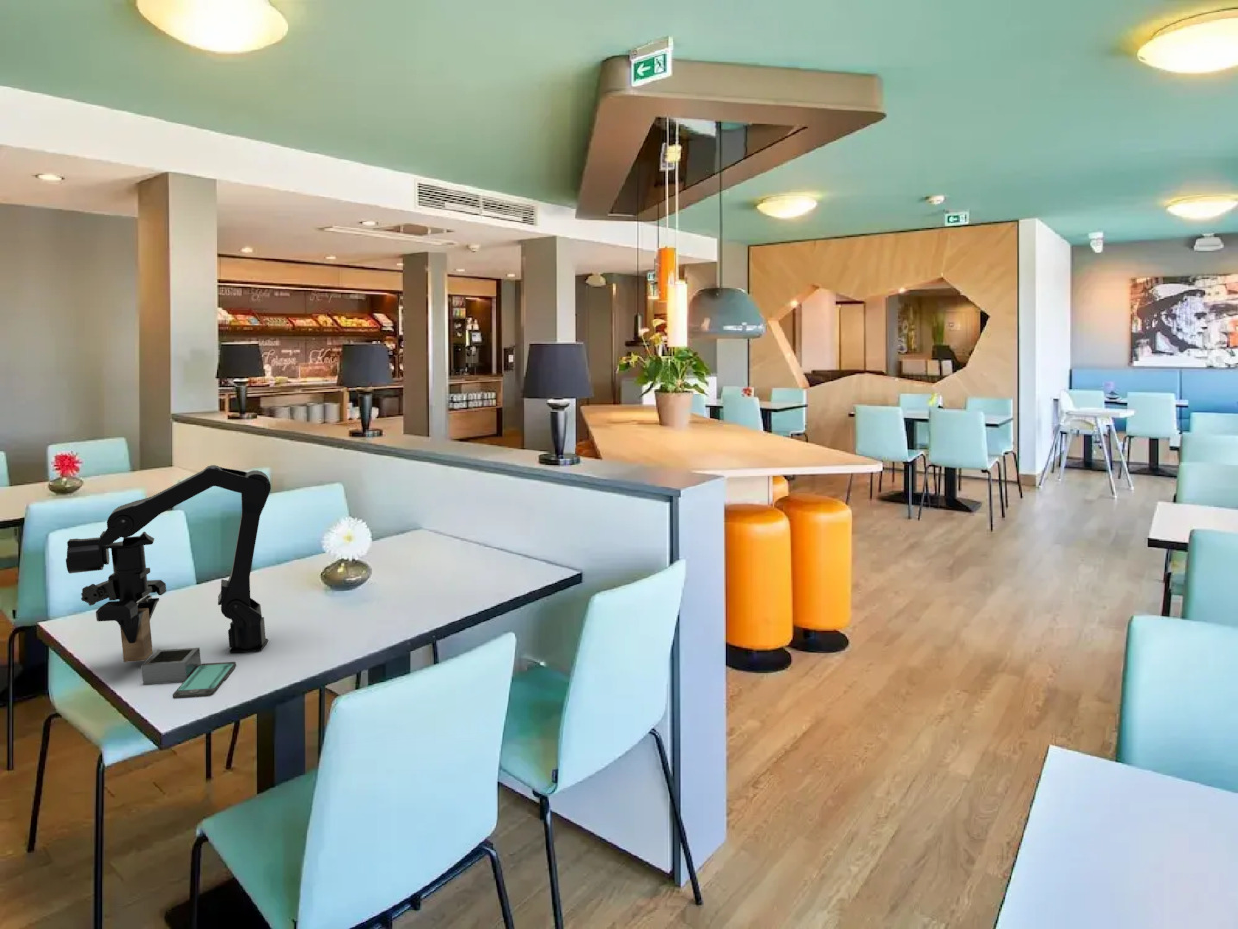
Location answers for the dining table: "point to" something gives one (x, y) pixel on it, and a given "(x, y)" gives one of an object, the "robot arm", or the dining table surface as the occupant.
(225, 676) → the smartphone
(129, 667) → the dining table surface
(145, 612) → the rail post
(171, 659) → the gray open box
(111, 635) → the dining table surface
